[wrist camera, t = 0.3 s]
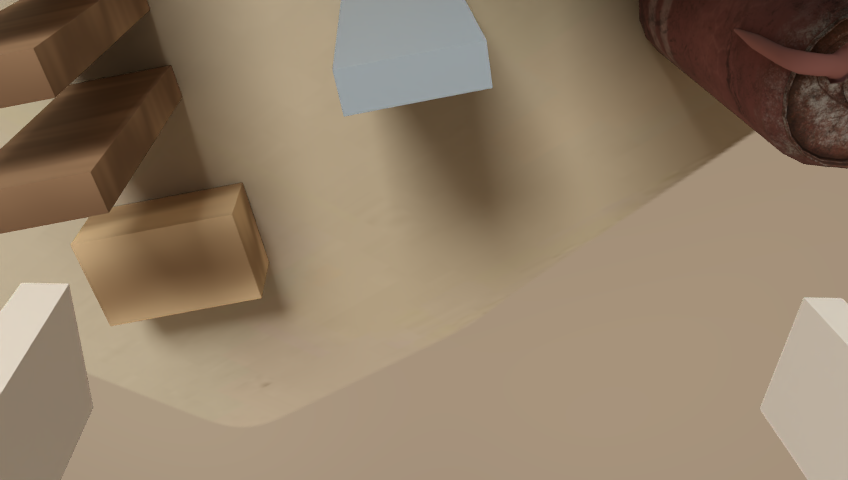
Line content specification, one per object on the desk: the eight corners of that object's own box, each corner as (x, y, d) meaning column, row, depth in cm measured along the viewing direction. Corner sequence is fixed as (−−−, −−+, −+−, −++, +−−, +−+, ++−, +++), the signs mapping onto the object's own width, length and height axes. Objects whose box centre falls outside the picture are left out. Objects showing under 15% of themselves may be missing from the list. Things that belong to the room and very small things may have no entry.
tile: (342, -9, 34) (332, 69, 24) (449, -31, 34) (486, 40, 23) (349, 25, 35) (343, 116, 24) (454, 5, 35) (492, 88, 24)
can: (652, -86, 33) (817, -26, 21) (782, -63, 34) (1010, 7, 22) (614, 47, 36) (738, 166, 24) (733, 65, 37) (912, 188, 25)
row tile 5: (69, 84, 35) (-54, 199, 25) (171, 65, 35) (90, 171, 25) (82, 116, 36) (-31, 239, 26) (182, 96, 36) (108, 213, 26)
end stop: (93, 210, 39) (70, 244, 36) (242, 182, 38) (231, 214, 35) (129, 288, 41) (110, 326, 38) (268, 262, 41) (261, 298, 38)
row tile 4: (29, -5, 33) (-124, 79, 23) (137, -27, 33) (33, 48, 23) (44, 30, 34) (-97, 126, 24) (150, 9, 34) (55, 97, 23)
